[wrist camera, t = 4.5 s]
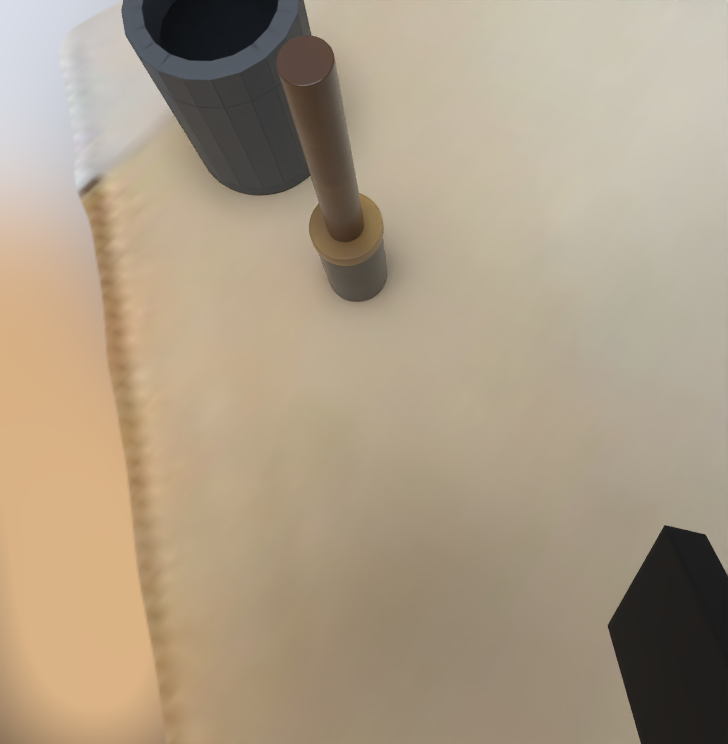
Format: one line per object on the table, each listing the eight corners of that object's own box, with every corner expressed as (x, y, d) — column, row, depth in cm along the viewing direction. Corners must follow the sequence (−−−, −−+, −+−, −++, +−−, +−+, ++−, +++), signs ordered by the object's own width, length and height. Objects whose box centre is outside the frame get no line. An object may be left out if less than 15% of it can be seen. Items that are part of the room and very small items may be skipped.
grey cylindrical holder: (261, 52, 49) (208, -105, 37) (358, 123, 47) (337, -17, 35) (172, 144, 48) (85, 15, 35) (268, 220, 46) (212, 113, 33)
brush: (355, 233, 45) (300, -11, 24) (401, 269, 45) (388, 50, 23) (314, 278, 45) (223, 69, 23) (360, 315, 44) (309, 134, 23)
